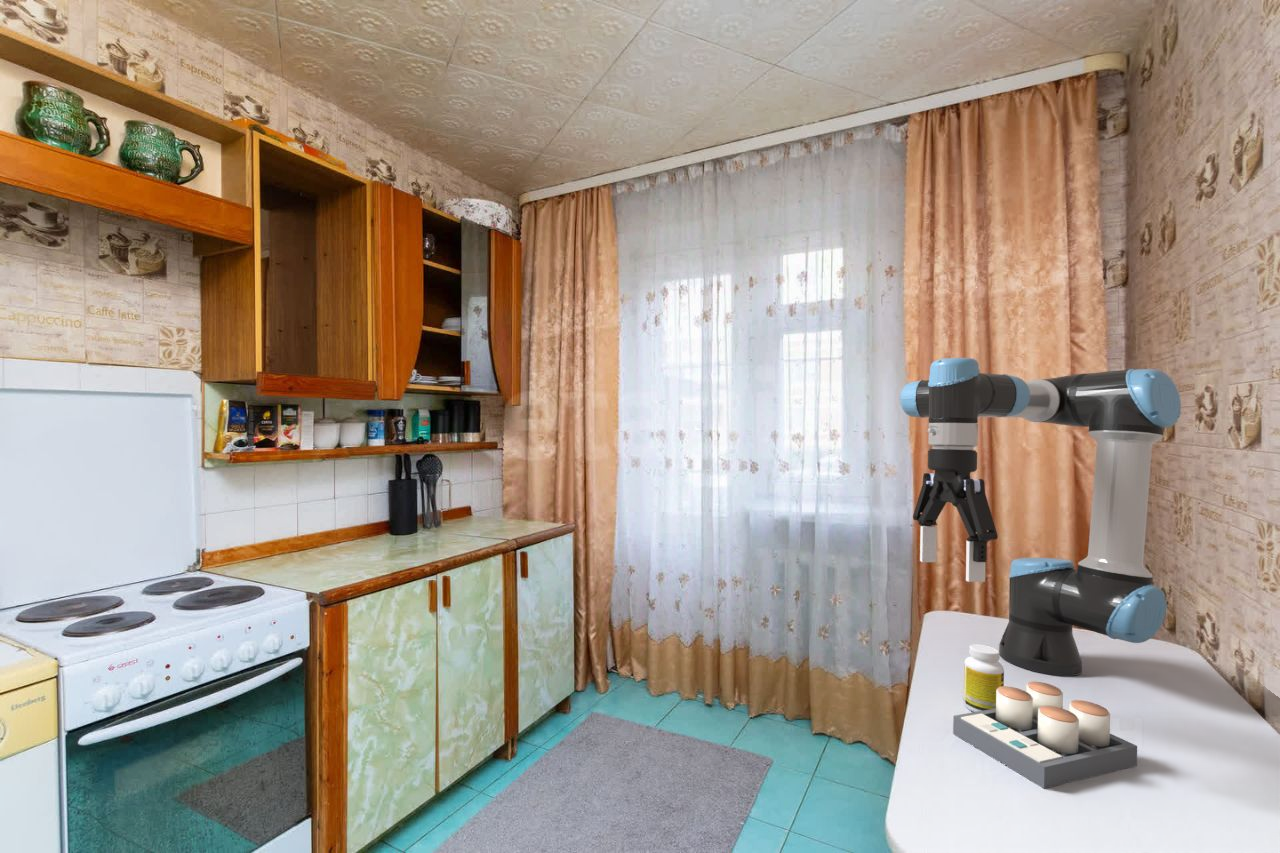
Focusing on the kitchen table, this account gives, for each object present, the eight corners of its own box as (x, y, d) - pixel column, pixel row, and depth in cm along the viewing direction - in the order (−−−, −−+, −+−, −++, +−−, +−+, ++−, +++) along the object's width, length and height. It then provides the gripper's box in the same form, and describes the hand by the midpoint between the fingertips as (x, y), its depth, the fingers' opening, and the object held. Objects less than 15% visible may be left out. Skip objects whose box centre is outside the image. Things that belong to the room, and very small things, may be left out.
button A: (1039, 707, 98) (1040, 679, 98) (1069, 721, 93) (1070, 692, 93) (1018, 711, 96) (1019, 682, 96) (1048, 725, 91) (1049, 696, 92)
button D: (1052, 733, 89) (1052, 703, 89) (1086, 750, 84) (1087, 718, 84) (1029, 738, 87) (1030, 707, 87) (1063, 756, 83) (1063, 723, 83)
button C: (1010, 712, 96) (1010, 684, 96) (1039, 727, 91) (1040, 697, 91) (988, 716, 94) (989, 687, 94) (1017, 731, 89) (1018, 701, 89)
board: (1038, 717, 100) (1039, 698, 100) (1136, 765, 86) (1137, 743, 86) (953, 733, 93) (953, 713, 93) (1044, 788, 79) (1044, 764, 79)
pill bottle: (1009, 720, 99) (1010, 657, 99) (970, 715, 100) (972, 653, 100) (994, 703, 105) (996, 644, 105) (958, 699, 106) (959, 640, 106)
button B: (1082, 727, 91) (1083, 697, 91) (1117, 743, 86) (1118, 712, 87) (1061, 732, 90) (1061, 701, 90) (1095, 748, 85) (1096, 716, 85)
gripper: (895, 445, 110) (893, 554, 109) (977, 450, 85) (975, 591, 85) (932, 446, 110) (930, 555, 110) (1025, 451, 85) (1023, 591, 85)
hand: (950, 571), depth 97 cm, fingers open, 13 cm apart
